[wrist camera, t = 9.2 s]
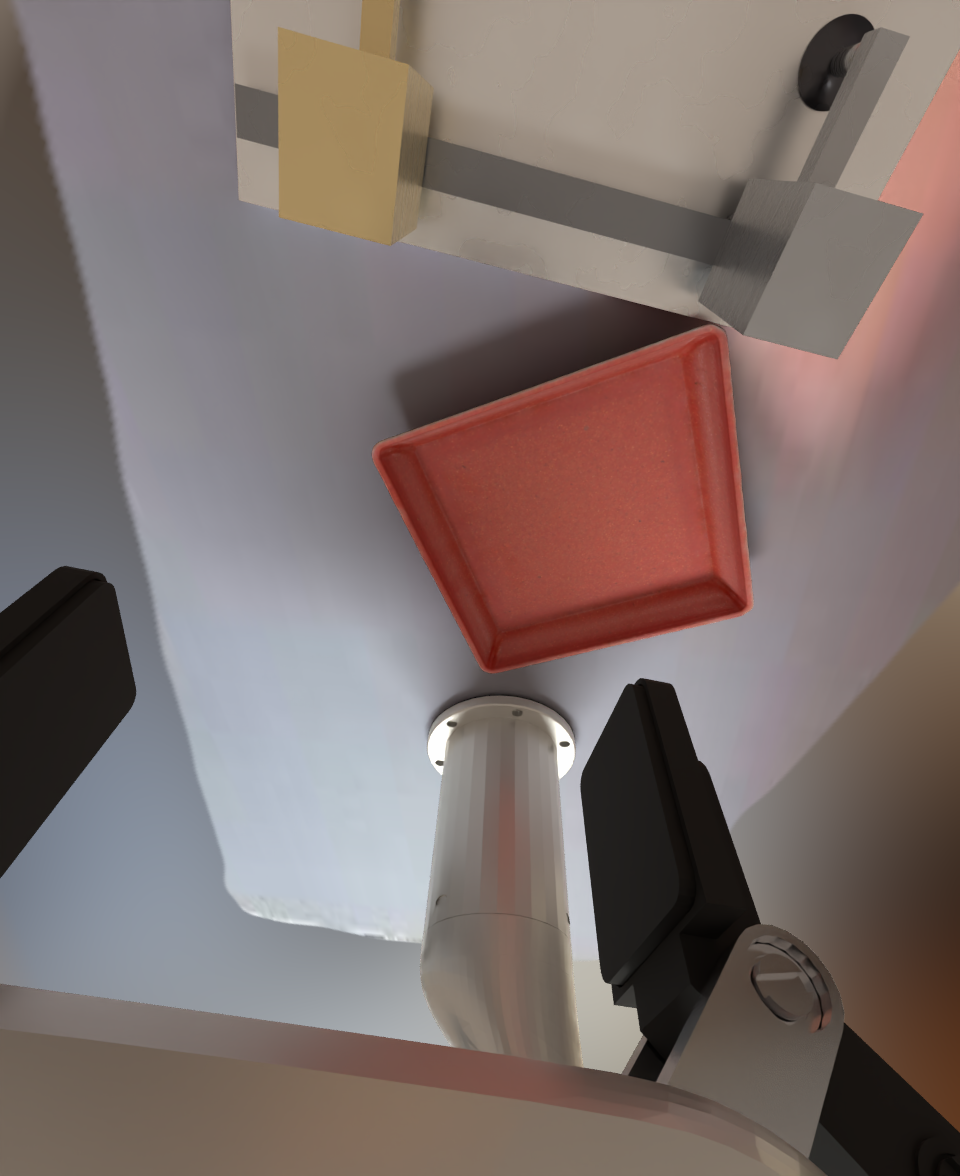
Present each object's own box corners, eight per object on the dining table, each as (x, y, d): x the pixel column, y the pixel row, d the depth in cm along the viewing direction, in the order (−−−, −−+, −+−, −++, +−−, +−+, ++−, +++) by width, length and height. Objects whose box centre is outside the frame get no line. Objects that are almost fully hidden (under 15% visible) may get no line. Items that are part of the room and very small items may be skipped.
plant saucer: (707, 302, 27) (728, 318, 24) (739, 583, 37) (757, 615, 34) (376, 423, 31) (364, 447, 29) (485, 644, 41) (484, 677, 39)
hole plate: (786, 337, 27) (878, 395, 20) (251, 198, 25) (151, 211, 18) (968, -9, 20) (1206, -100, 13) (238, -252, 18) (61, -518, 11)
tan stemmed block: (419, 226, 24) (390, 245, 18) (335, 204, 23) (278, 217, 18) (457, -76, 18) (433, -180, 13) (349, -110, 18) (276, -232, 12)
